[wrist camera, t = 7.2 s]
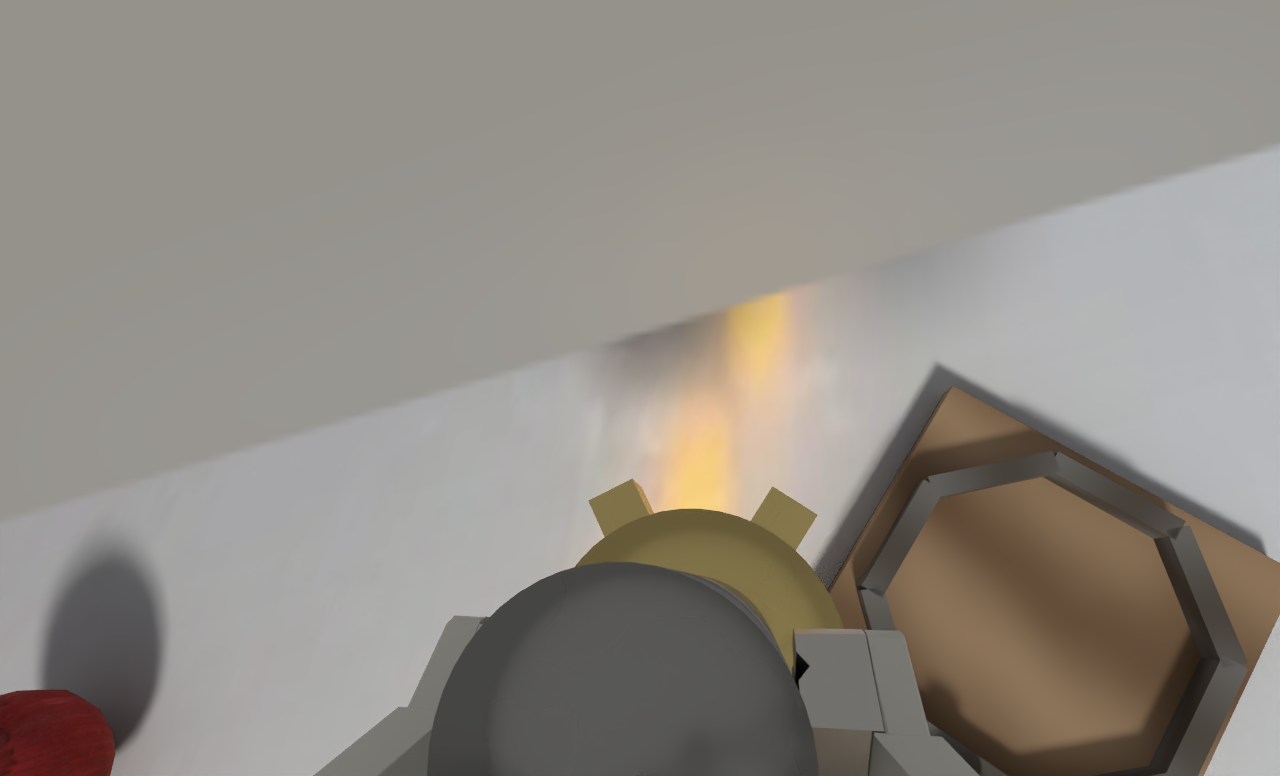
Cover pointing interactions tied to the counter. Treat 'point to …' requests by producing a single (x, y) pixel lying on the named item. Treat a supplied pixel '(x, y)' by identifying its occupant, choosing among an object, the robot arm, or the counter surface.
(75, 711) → the onion
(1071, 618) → the gear board
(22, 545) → the counter surface
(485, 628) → the gear
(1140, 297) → the counter surface
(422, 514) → the counter surface
